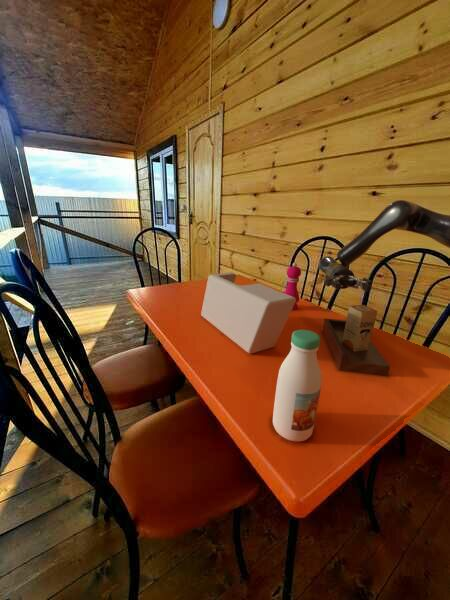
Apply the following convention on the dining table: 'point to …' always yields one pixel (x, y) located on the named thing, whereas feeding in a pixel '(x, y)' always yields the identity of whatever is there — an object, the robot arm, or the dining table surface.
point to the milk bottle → (298, 388)
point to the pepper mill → (293, 283)
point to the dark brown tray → (352, 352)
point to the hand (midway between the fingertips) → (353, 287)
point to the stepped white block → (246, 311)
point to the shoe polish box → (359, 327)
